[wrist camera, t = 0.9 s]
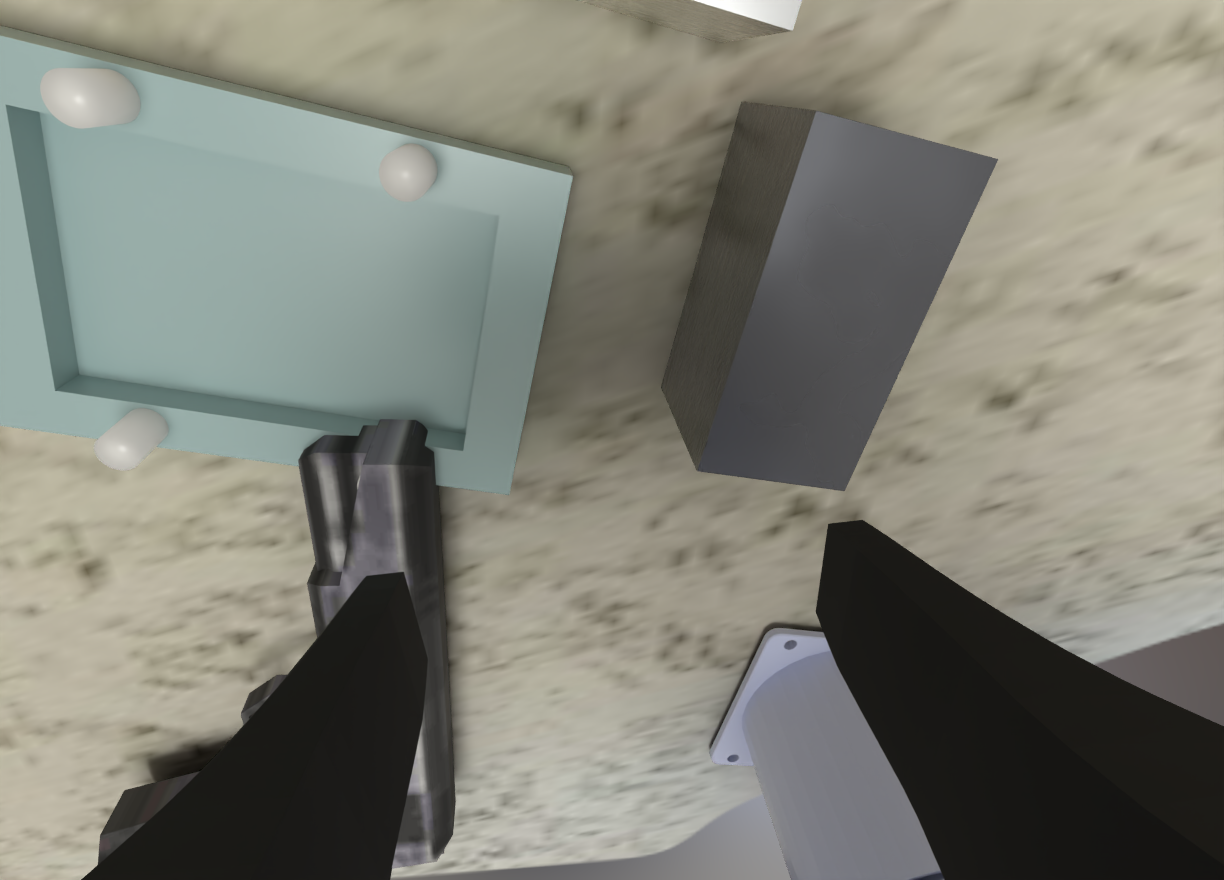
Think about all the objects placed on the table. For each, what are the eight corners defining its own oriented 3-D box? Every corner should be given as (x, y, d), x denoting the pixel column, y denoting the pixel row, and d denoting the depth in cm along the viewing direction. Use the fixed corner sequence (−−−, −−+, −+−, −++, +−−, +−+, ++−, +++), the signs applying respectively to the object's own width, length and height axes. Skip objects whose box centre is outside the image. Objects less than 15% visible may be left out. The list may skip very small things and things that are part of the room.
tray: (568, 167, 17) (577, 184, 14) (510, 463, 21) (507, 523, 18) (-29, 18, 14) (-169, 4, 11) (41, 394, 18) (-49, 452, 15)
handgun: (128, 932, 24) (453, 900, 26) (-127, 468, 14) (425, 470, 16) (167, 844, 27) (459, 821, 29) (-24, 405, 17) (438, 412, 19)
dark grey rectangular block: (740, 101, 16) (816, 110, 12) (879, 138, 17) (998, 159, 13) (660, 385, 20) (696, 471, 16) (778, 404, 21) (844, 490, 17)
